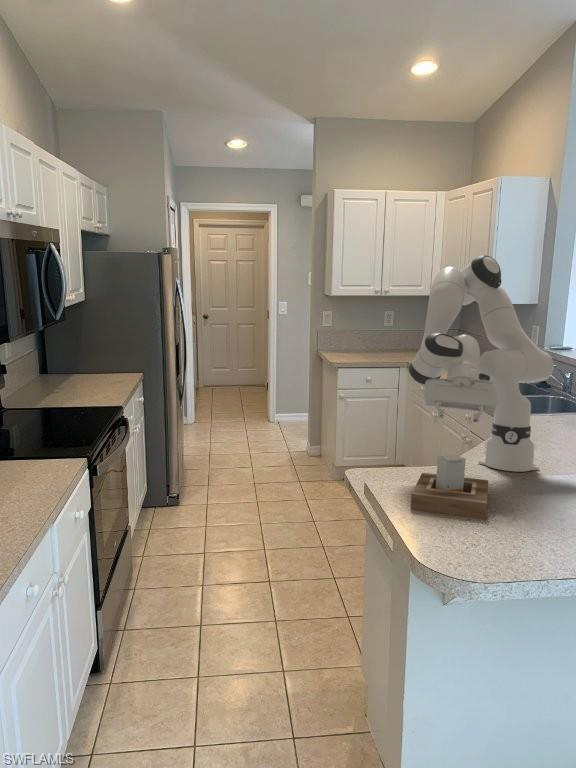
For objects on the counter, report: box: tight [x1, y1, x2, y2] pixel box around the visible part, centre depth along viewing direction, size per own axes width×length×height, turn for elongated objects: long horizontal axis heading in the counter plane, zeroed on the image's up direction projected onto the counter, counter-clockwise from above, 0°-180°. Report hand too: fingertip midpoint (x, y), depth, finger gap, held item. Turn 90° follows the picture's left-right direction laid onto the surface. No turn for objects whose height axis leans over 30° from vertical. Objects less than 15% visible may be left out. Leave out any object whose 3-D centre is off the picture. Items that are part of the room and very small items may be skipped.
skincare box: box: [436, 454, 466, 492], centre depth 152 cm, size 6×4×12 cm
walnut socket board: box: [410, 472, 489, 520], centre depth 152 cm, size 22×18×4 cm
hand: (458, 418), depth 160 cm, fingers open, 8 cm apart
